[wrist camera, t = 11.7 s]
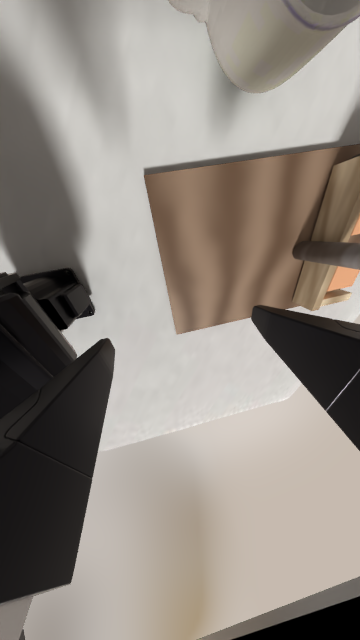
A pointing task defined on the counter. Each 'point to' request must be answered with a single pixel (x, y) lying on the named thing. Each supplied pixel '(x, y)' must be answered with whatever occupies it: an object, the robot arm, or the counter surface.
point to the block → (343, 278)
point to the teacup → (268, 35)
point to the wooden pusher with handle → (331, 239)
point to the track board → (237, 232)
